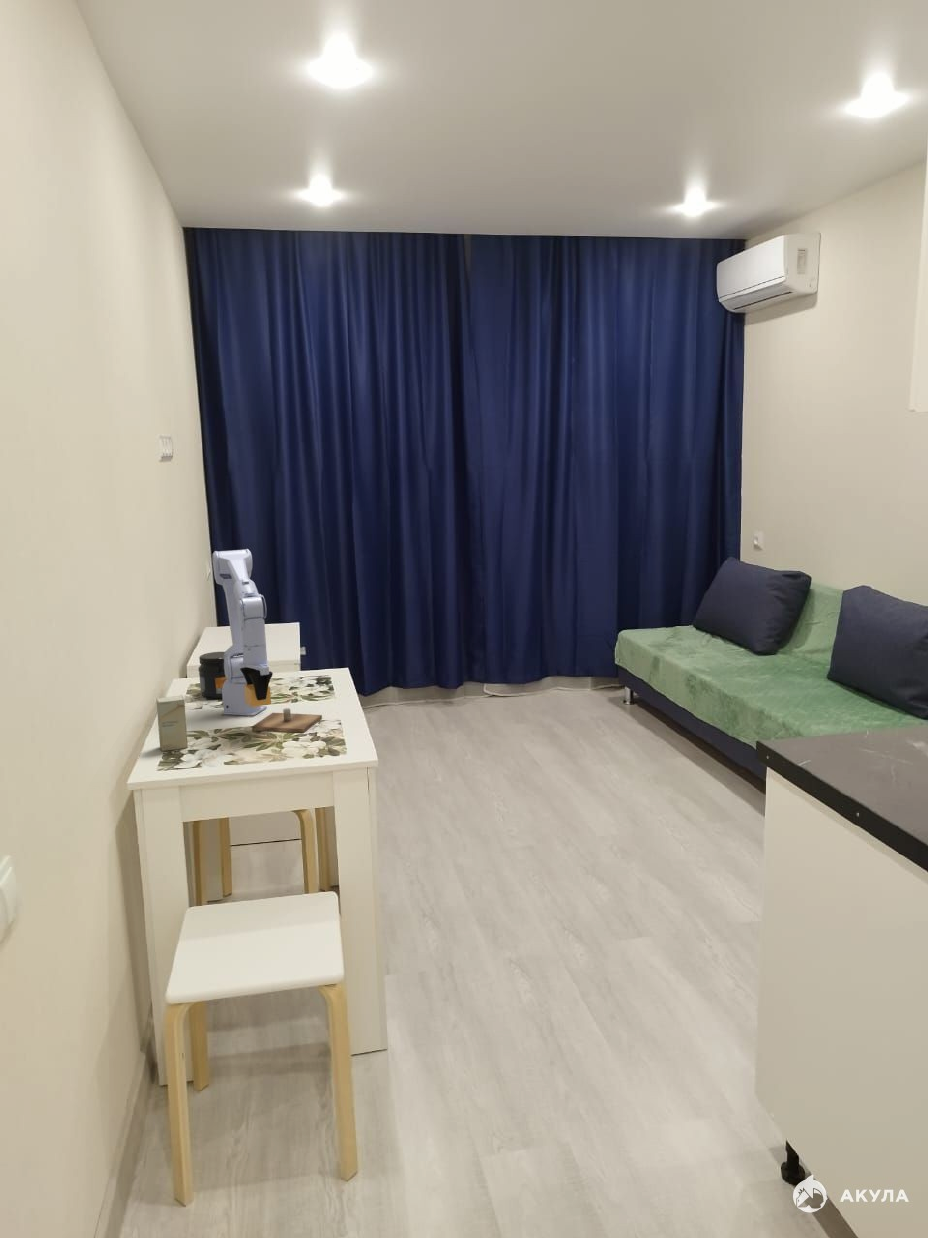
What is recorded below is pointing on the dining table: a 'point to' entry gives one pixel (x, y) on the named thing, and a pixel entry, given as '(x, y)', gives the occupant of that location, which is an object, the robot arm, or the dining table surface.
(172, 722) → the skincare box
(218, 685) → the supplement container
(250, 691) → the mustard tilted cube
